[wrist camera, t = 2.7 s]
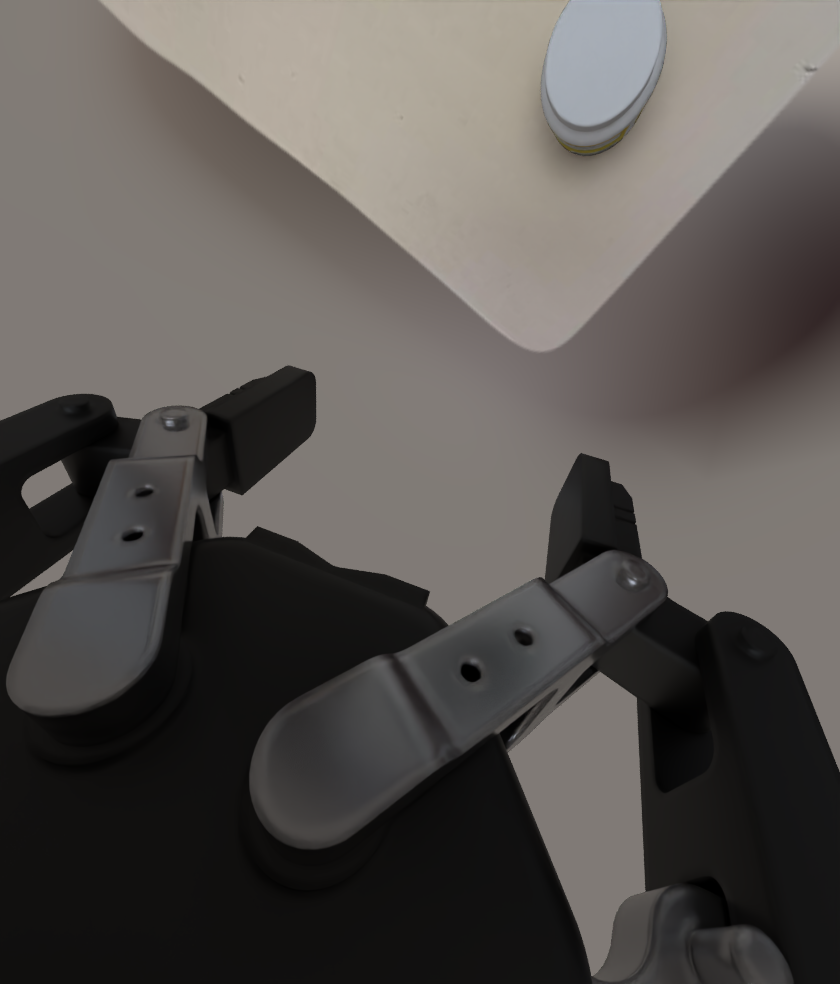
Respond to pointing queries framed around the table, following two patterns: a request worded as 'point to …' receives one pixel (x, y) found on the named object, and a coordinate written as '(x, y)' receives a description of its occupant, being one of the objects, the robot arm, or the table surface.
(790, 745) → the robot arm
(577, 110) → the supplement bottle
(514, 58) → the table surface
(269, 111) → the table surface
